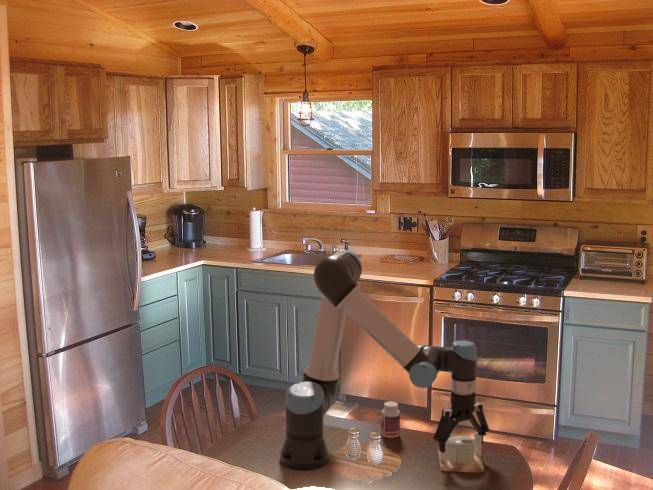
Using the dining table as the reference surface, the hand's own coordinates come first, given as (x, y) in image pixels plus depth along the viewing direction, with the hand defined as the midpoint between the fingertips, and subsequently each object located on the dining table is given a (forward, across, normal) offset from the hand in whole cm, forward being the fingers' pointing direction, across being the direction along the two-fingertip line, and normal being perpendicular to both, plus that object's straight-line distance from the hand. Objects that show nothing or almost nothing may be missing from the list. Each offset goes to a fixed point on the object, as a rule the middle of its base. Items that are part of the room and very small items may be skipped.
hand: (460, 457), depth 239 cm
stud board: (+1, 0, 0) cm, 2 cm away
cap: (0, 0, 0) cm, 0 cm away
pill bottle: (+1, -9, +27) cm, 29 cm away
